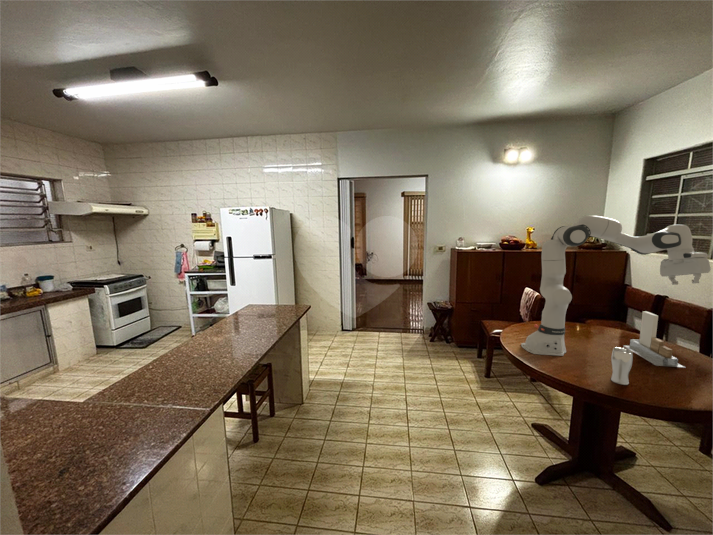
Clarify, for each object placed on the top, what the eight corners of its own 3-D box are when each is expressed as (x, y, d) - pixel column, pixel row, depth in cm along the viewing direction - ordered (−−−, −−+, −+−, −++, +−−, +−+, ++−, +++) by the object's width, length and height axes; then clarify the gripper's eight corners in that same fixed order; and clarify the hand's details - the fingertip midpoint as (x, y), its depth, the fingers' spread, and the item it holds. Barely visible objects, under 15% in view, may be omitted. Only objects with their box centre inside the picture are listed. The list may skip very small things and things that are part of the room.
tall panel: (649, 355, 152) (653, 315, 149) (638, 349, 160) (642, 311, 157) (653, 355, 151) (658, 315, 149) (642, 349, 159) (647, 311, 156)
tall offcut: (657, 359, 147) (659, 341, 145) (649, 355, 151) (651, 337, 150) (661, 360, 146) (664, 341, 145) (654, 356, 151) (656, 338, 150)
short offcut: (665, 364, 141) (667, 349, 140) (657, 360, 146) (659, 345, 145) (670, 365, 141) (672, 349, 140) (662, 360, 146) (664, 345, 145)
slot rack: (655, 368, 141) (656, 357, 141) (622, 347, 165) (623, 338, 165) (685, 370, 138) (687, 359, 138) (647, 349, 162) (648, 340, 162)
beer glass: (633, 383, 128) (636, 351, 126) (624, 386, 126) (627, 354, 124) (615, 376, 135) (617, 346, 133) (606, 379, 132) (608, 348, 130)
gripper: (654, 259, 153) (657, 285, 152) (697, 253, 133) (701, 282, 131) (666, 259, 153) (670, 285, 151) (711, 253, 133) (716, 282, 131)
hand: (685, 284), depth 141 cm, fingers open, 8 cm apart
